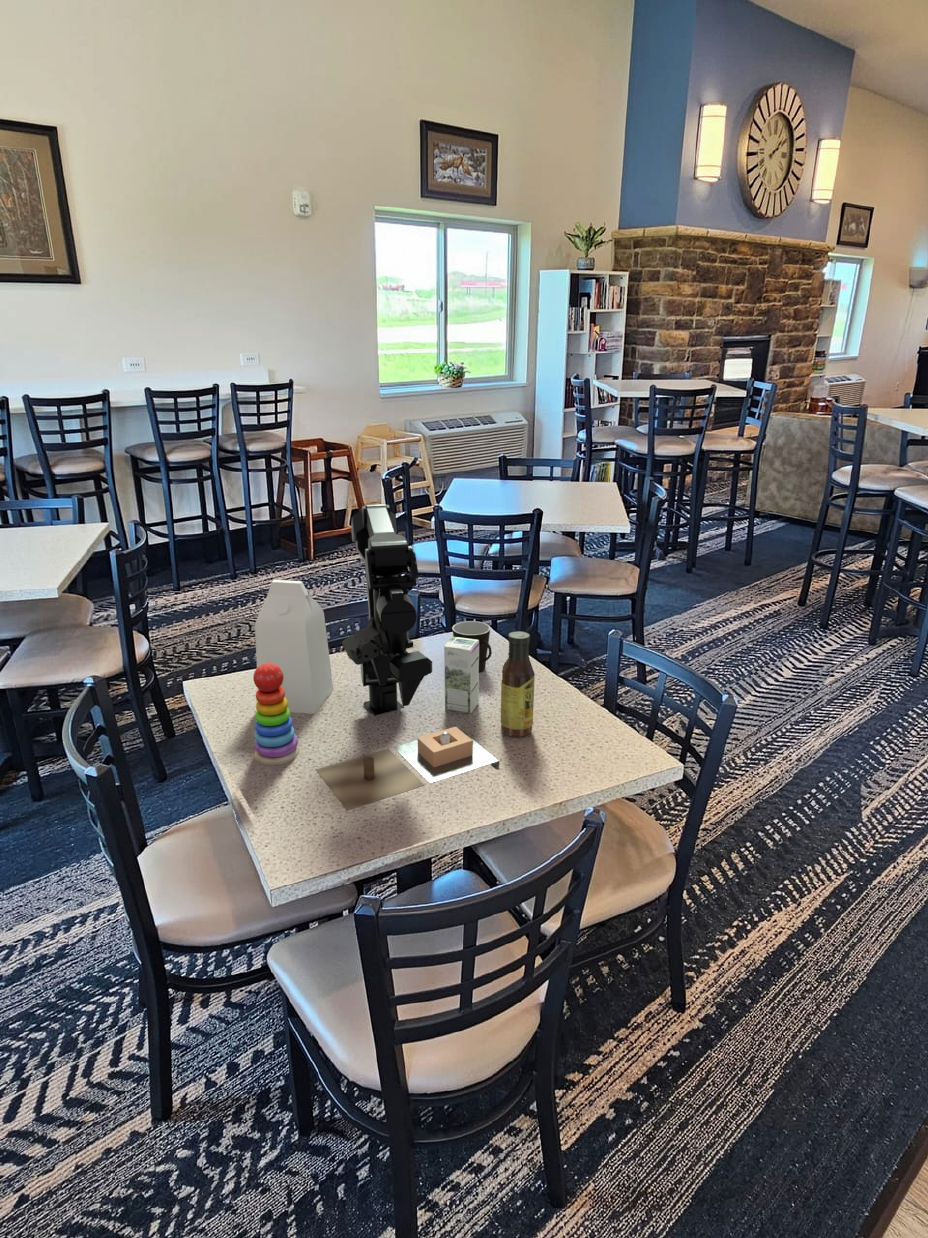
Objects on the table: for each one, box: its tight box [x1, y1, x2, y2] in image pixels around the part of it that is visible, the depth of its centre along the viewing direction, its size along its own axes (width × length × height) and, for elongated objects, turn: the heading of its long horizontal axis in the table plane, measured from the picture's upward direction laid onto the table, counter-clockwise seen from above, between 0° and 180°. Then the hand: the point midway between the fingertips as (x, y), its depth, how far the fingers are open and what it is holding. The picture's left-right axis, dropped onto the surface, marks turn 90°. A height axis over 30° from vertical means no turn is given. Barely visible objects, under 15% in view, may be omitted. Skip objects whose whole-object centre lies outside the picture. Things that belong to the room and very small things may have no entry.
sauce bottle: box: [500, 631, 535, 738], centre depth 143 cm, size 7×6×20 cm
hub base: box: [393, 727, 500, 784], centre depth 136 cm, size 14×14×5 cm
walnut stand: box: [315, 748, 425, 811], centre depth 129 cm, size 14×14×4 cm
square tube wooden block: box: [417, 726, 474, 767], centre depth 136 cm, size 6×8×3 cm
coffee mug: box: [451, 620, 493, 674], centre depth 171 cm, size 12×9×10 cm
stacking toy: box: [252, 663, 301, 766], centre depth 134 cm, size 8×8×19 cm
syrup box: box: [443, 636, 480, 715], centre depth 153 cm, size 6×6×14 cm
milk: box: [254, 579, 334, 715], centre depth 155 cm, size 12×12×26 cm
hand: (394, 695), depth 134 cm, fingers open, 9 cm apart
